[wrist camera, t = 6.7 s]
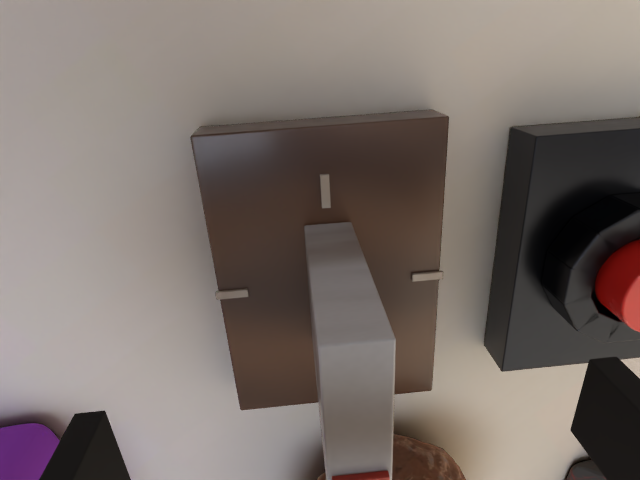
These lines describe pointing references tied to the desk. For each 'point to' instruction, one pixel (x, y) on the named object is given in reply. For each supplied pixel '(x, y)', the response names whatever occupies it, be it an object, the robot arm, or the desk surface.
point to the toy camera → (25, 451)
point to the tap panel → (321, 208)
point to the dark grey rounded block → (585, 471)
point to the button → (621, 284)
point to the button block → (563, 243)
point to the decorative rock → (420, 461)
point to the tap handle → (350, 356)
